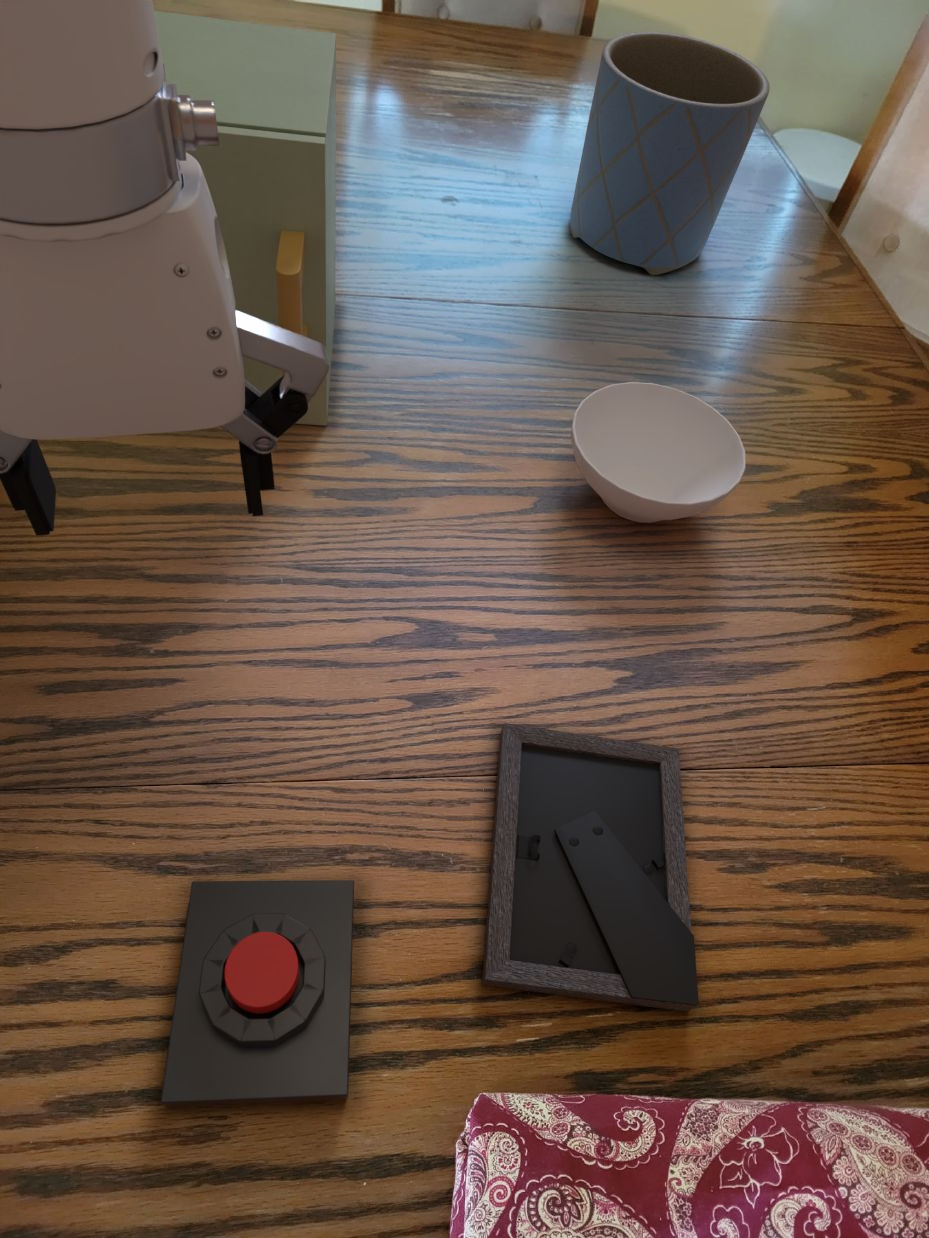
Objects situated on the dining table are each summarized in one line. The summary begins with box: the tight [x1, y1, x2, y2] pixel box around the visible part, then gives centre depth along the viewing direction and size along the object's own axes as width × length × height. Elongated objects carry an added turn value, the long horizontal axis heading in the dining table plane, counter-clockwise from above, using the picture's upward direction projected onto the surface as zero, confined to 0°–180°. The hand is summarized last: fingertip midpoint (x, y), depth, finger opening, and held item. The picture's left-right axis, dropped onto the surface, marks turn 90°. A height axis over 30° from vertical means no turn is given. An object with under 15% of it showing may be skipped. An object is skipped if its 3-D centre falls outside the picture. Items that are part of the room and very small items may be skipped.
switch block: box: [160, 879, 355, 1109], centre depth 49 cm, size 12×10×4 cm
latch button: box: [225, 932, 299, 1014], centre depth 47 cm, size 4×4×2 cm
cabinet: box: [154, 10, 337, 409], centre depth 74 cm, size 18×24×26 cm
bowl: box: [570, 381, 746, 524], centre depth 78 cm, size 16×16×7 cm
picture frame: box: [481, 722, 700, 1013], centre depth 57 cm, size 13×2×18 cm
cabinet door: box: [186, 126, 329, 426], centre depth 67 cm, size 7×24×26 cm, turn 93°
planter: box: [569, 31, 771, 276], centre depth 101 cm, size 19×19×20 cm
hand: (153, 504), depth 41 cm, fingers open, 9 cm apart
